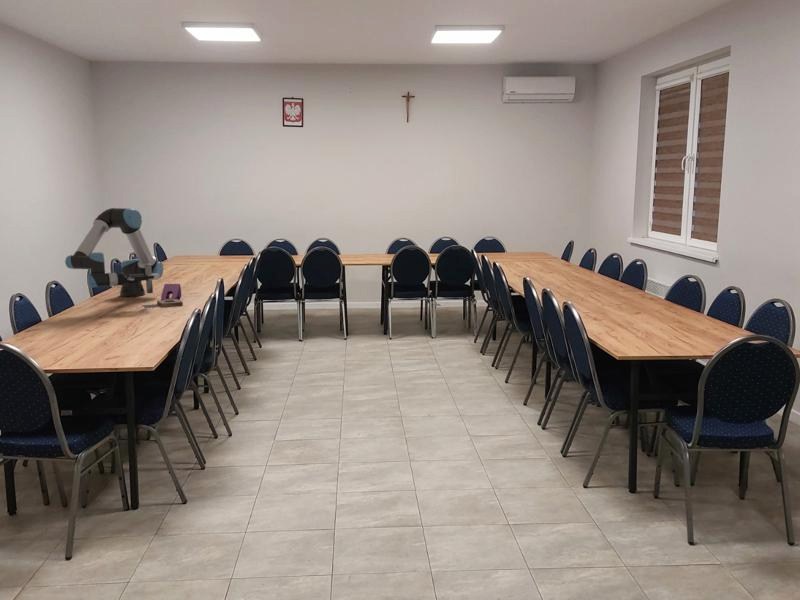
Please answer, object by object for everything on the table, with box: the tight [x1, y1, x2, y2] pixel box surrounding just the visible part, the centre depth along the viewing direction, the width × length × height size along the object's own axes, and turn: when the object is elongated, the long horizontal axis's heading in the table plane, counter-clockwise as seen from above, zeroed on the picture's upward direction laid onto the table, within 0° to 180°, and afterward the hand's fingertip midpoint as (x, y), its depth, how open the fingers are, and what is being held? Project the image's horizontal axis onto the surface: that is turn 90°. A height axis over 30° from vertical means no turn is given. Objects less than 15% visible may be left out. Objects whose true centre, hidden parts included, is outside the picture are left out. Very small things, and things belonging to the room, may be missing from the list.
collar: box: [156, 299, 184, 308], centre depth 433 cm, size 12×12×2 cm
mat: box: [141, 303, 160, 309], centre depth 428 cm, size 10×8×1 cm
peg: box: [145, 264, 154, 294], centre depth 425 cm, size 3×3×17 cm
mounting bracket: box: [160, 283, 182, 300], centre depth 451 cm, size 9×8×18 cm
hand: (158, 276), depth 428 cm, fingers closed on peg, 3 cm apart
